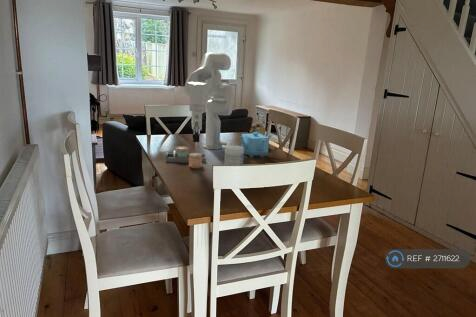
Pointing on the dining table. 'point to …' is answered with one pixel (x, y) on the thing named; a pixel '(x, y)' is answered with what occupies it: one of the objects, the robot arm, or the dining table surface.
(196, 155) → the terracotta jar
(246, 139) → the teakettle
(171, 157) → the tray
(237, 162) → the supplement tub
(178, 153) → the sage jar
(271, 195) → the dining table surface
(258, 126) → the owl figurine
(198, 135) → the robot arm
